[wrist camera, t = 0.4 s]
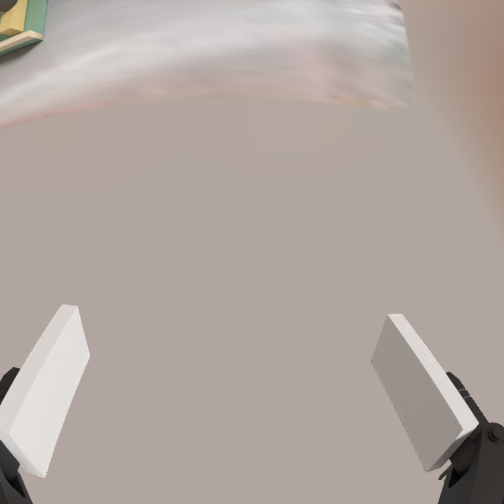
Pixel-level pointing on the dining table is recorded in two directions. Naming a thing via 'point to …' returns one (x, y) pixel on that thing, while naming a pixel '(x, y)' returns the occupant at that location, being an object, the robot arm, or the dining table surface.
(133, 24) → the dining table surface
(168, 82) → the dining table surface
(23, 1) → the yellow block with handle
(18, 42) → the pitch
